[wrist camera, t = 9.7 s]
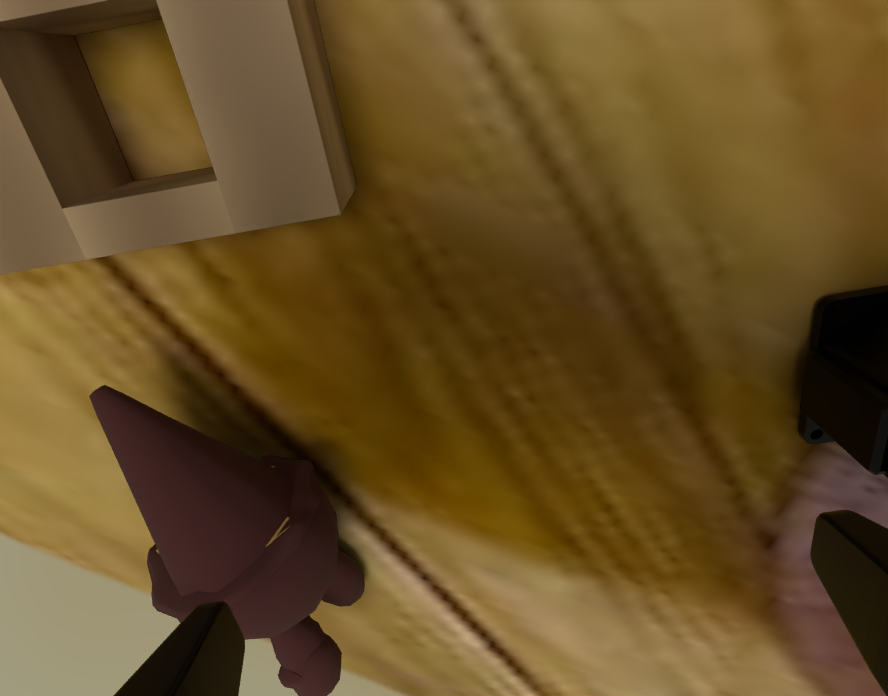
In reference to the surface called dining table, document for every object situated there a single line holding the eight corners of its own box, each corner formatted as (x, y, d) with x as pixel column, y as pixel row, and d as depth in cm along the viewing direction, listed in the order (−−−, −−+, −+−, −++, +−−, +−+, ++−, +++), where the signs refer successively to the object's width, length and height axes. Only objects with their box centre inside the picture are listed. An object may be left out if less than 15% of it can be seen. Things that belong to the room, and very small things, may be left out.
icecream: (-71, 501, 16) (246, 726, 23) (101, 453, 13) (399, 726, 20) (89, 352, 21) (305, 573, 29) (236, 296, 19) (432, 556, 26)
